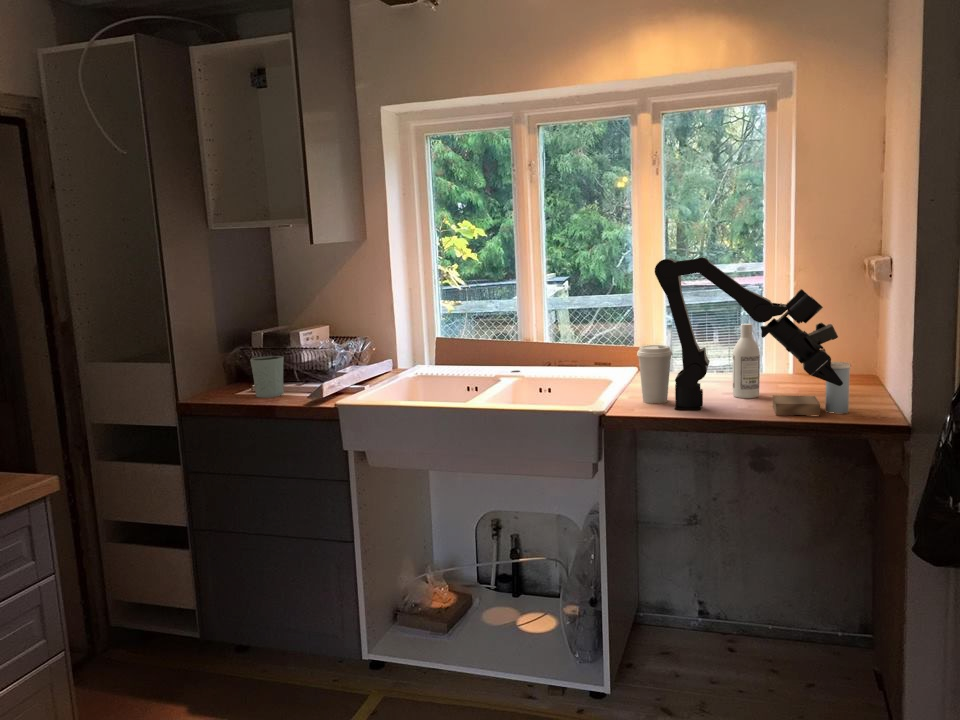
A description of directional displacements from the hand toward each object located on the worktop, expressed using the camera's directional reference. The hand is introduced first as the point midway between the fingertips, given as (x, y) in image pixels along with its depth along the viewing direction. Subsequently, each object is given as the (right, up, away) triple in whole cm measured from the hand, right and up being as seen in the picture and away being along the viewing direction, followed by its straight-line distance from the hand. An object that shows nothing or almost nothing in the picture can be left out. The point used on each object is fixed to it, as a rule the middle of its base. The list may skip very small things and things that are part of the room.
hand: (839, 381), depth 189 cm
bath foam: (-15, -5, +24) cm, 28 cm away
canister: (0, -8, +1) cm, 8 cm away
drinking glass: (-155, -6, +57) cm, 165 cm away
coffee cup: (-40, -6, +23) cm, 46 cm away
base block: (-9, -8, +4) cm, 13 cm away
